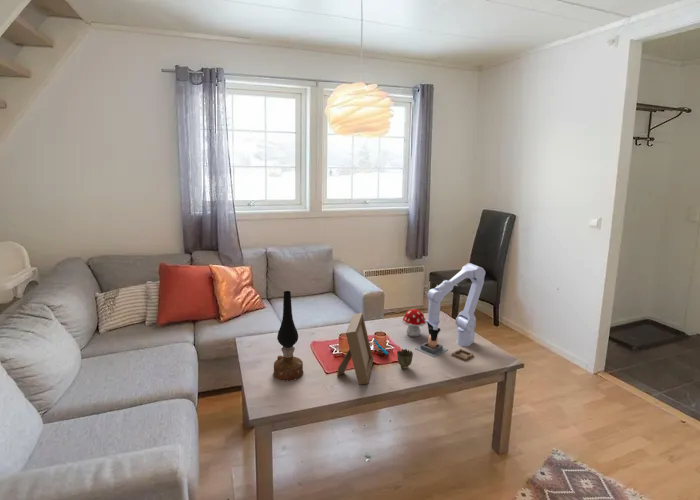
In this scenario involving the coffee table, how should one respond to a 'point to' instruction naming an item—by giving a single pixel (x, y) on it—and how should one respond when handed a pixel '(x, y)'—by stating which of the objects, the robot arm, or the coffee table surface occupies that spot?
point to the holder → (462, 355)
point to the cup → (404, 358)
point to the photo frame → (358, 350)
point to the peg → (432, 343)
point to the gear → (381, 347)
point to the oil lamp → (287, 345)
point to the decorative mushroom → (413, 321)
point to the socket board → (429, 351)
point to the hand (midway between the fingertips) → (432, 337)
